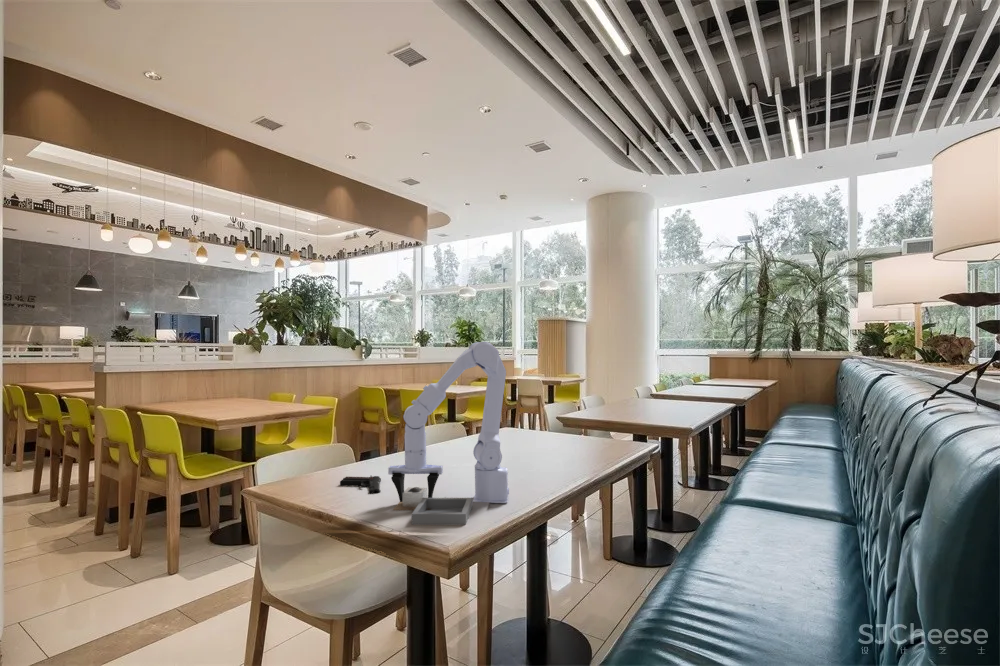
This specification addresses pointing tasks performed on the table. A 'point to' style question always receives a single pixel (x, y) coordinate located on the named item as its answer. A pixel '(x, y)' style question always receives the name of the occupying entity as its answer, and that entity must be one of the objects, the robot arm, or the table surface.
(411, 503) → the collar
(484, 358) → the robot arm
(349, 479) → the handgun
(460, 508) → the tray
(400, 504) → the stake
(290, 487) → the table surface
